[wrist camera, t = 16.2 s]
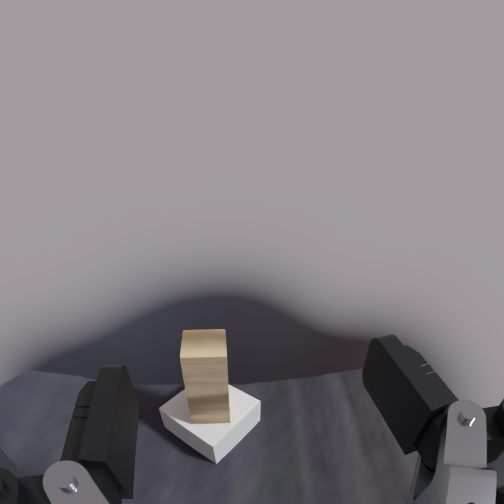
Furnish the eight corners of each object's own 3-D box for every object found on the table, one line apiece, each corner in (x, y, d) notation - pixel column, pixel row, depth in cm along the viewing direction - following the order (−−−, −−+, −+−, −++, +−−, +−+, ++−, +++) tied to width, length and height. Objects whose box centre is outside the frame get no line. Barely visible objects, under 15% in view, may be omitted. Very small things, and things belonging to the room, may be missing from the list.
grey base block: (165, 428, 41) (158, 408, 39) (209, 393, 48) (206, 372, 46) (216, 464, 35) (212, 446, 34) (260, 421, 43) (260, 400, 41)
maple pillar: (230, 422, 37) (227, 356, 33) (191, 423, 37) (179, 357, 32) (228, 395, 42) (225, 329, 37) (192, 396, 41) (183, 330, 37)
